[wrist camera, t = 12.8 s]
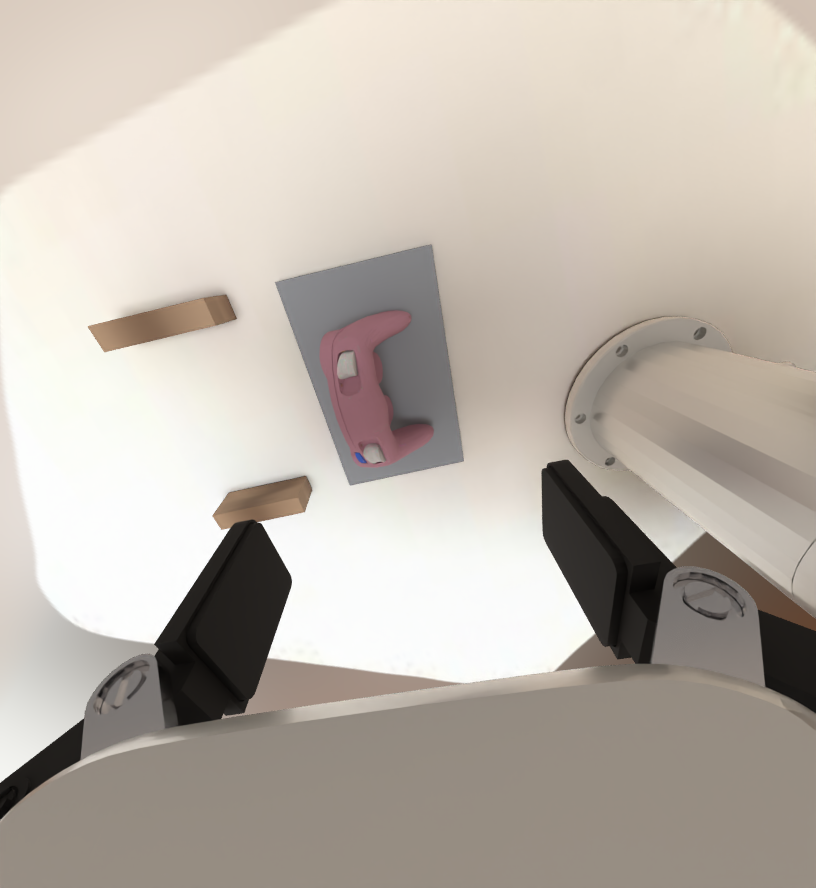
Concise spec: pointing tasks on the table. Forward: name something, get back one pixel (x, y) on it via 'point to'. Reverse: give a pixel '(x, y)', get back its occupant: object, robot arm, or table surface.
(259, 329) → the table surface
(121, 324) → the dock
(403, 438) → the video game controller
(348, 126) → the table surface
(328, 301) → the mat
